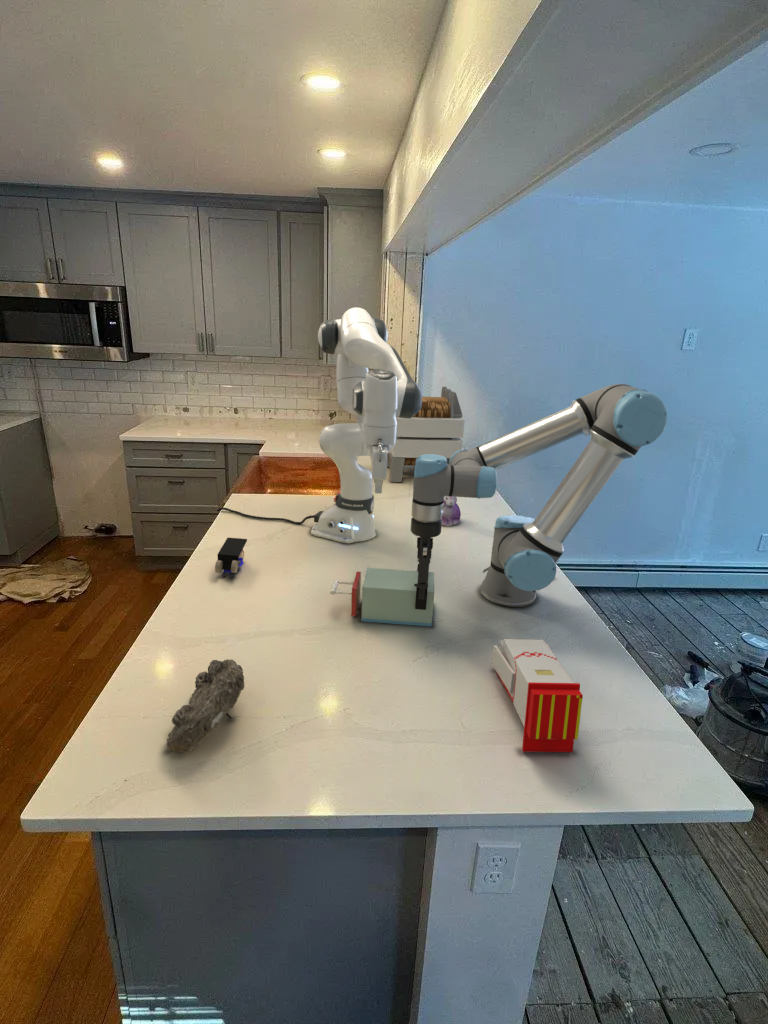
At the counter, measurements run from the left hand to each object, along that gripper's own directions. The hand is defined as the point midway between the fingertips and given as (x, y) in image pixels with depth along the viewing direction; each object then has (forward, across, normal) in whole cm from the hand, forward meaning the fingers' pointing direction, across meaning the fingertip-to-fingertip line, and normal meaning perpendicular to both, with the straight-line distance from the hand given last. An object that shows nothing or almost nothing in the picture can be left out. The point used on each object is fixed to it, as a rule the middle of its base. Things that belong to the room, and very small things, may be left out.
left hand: (377, 487), depth 149 cm
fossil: (+31, -53, +32) cm, 69 cm away
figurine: (+30, +56, -29) cm, 69 cm away
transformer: (+28, +122, -25) cm, 128 cm away
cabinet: (+30, -12, -6) cm, 33 cm away
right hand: (+25, -13, -12) cm, 31 cm away
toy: (+31, -48, -30) cm, 65 cm away
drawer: (+29, -11, 0) cm, 31 cm away
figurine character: (+30, +11, +42) cm, 52 cm away
